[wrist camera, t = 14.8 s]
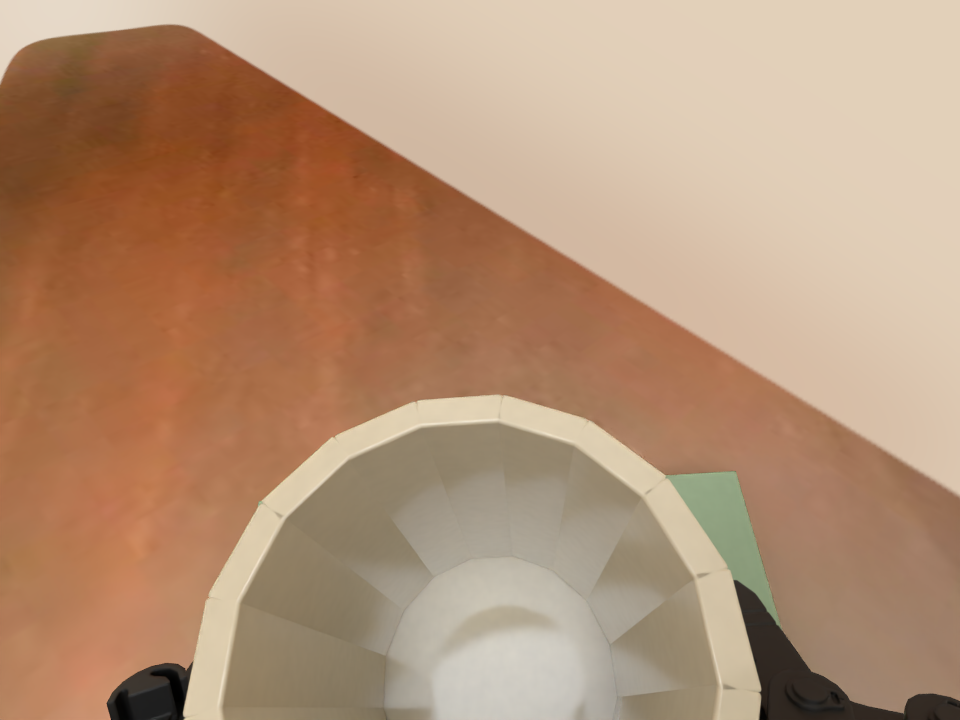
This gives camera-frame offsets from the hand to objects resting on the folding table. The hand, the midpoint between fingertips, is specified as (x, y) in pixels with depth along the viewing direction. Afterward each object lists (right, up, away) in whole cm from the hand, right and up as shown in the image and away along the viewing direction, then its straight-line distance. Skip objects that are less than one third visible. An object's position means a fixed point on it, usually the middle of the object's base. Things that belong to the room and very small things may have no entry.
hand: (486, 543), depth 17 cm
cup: (0, -5, +2) cm, 5 cm away
